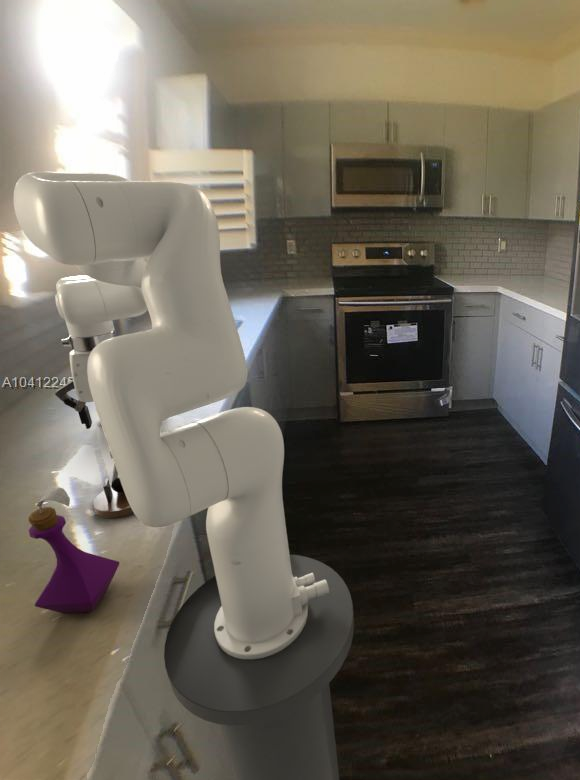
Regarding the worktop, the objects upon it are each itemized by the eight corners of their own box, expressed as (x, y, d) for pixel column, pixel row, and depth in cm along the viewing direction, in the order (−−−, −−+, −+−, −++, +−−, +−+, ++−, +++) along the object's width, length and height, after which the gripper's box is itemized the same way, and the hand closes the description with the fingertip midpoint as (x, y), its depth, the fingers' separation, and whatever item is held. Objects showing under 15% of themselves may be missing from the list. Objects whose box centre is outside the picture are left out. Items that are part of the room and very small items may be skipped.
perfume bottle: (41, 624, 61) (-6, 512, 54) (74, 581, 68) (37, 477, 61) (97, 621, 61) (58, 509, 54) (125, 578, 68) (93, 475, 61)
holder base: (154, 508, 84) (148, 485, 82) (92, 524, 80) (84, 501, 78) (154, 481, 92) (149, 459, 91) (97, 495, 89) (90, 472, 87)
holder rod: (138, 488, 87) (134, 473, 86) (107, 496, 85) (102, 480, 84) (140, 452, 100) (136, 439, 99) (113, 458, 98) (109, 444, 97)
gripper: (37, 353, 82) (64, 438, 88) (144, 340, 89) (162, 419, 95) (45, 343, 88) (70, 422, 95) (144, 331, 95) (161, 406, 101)
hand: (116, 421), depth 95 cm, fingers open, 9 cm apart
